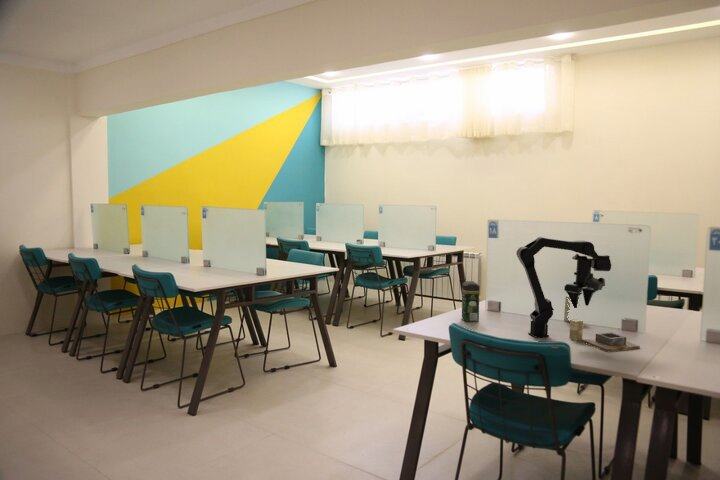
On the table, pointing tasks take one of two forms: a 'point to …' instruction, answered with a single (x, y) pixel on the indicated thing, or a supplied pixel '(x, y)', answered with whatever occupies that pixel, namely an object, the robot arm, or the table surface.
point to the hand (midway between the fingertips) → (581, 306)
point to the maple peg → (576, 329)
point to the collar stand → (611, 342)
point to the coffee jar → (470, 301)
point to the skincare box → (566, 308)
